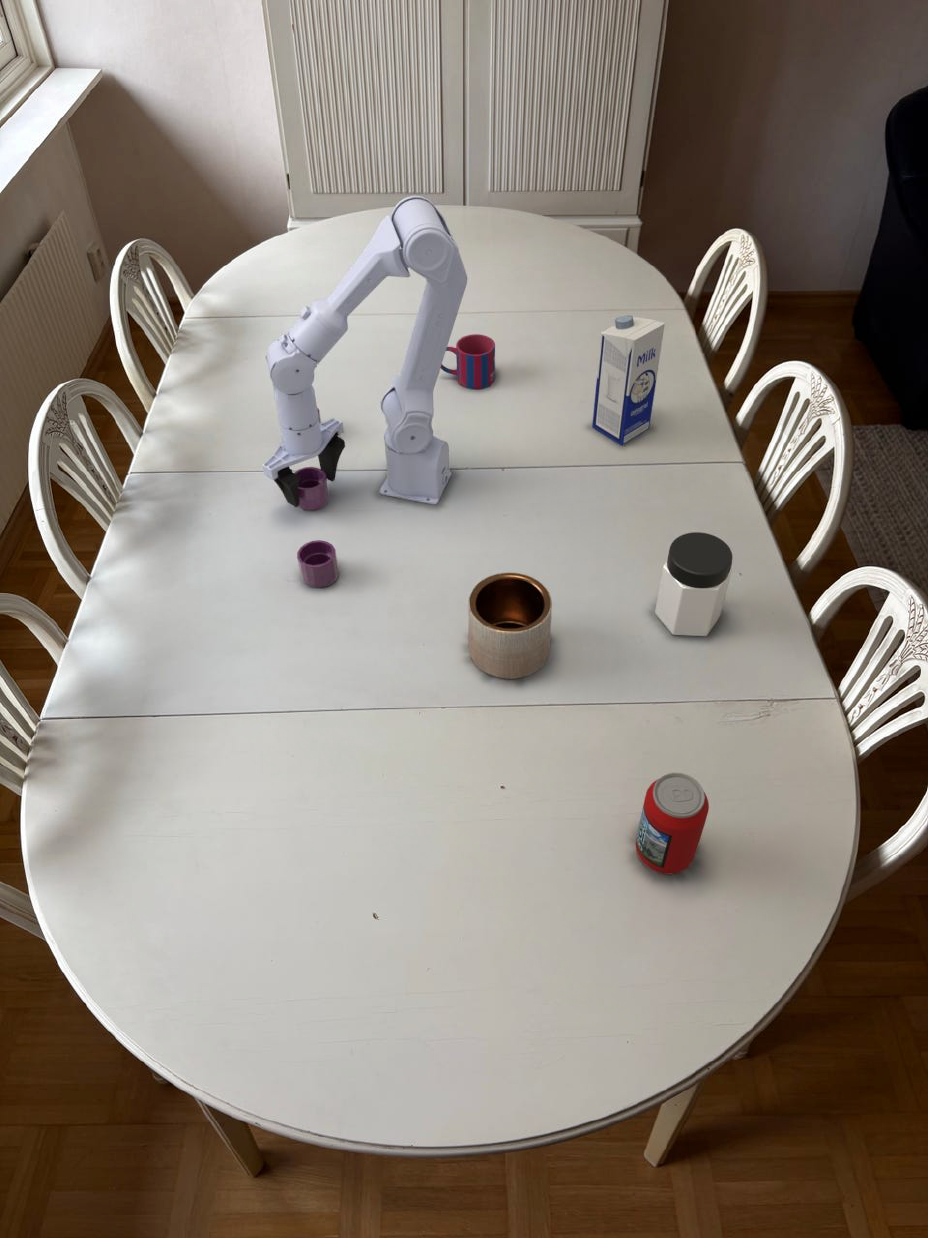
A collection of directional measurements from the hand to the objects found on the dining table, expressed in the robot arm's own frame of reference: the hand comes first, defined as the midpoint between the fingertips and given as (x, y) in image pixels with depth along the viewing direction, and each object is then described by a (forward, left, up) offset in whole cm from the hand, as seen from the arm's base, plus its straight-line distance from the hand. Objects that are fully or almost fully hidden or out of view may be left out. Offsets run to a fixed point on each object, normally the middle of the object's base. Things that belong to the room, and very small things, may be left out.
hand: (311, 490), depth 154 cm
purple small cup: (-7, +15, -2) cm, 17 cm away
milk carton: (-42, -31, -2) cm, 53 cm away
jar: (-59, +8, -2) cm, 60 cm away
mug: (-13, -38, -2) cm, 40 cm away
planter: (-37, +21, -2) cm, 43 cm away
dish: (0, 0, -2) cm, 2 cm away
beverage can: (-62, +45, -2) cm, 77 cm away
